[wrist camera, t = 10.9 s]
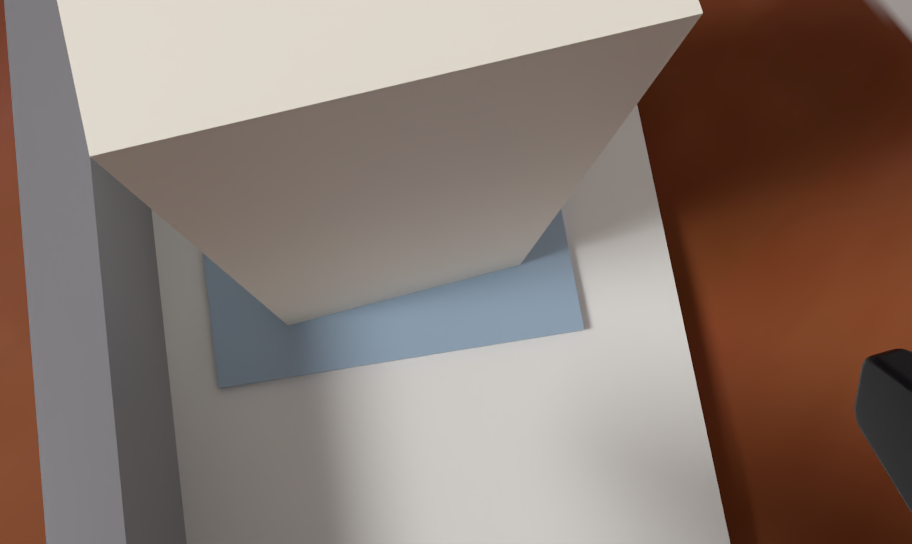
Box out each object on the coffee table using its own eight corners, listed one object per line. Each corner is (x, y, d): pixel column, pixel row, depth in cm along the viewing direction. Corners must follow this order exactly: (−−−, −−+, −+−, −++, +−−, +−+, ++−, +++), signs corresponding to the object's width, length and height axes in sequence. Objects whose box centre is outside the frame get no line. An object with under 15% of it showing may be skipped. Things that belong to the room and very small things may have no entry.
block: (519, 264, 18) (703, 12, 7) (287, 325, 17) (89, 157, 6) (457, 50, 18) (533, -479, 8) (233, 102, 18) (-25, -390, 7)
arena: (749, 684, 17) (855, 764, 13) (158, 804, 16) (76, 931, 12) (592, -62, 20) (640, -184, 16) (81, -2, 19) (-6, -117, 15)
